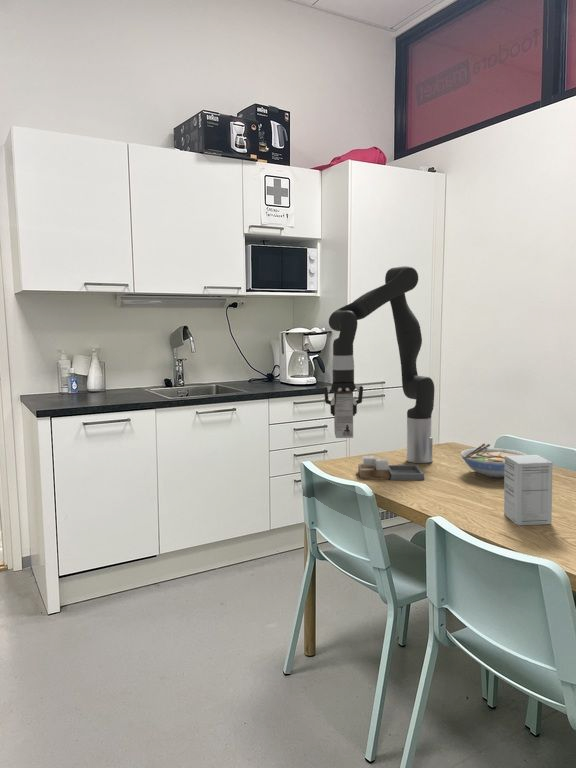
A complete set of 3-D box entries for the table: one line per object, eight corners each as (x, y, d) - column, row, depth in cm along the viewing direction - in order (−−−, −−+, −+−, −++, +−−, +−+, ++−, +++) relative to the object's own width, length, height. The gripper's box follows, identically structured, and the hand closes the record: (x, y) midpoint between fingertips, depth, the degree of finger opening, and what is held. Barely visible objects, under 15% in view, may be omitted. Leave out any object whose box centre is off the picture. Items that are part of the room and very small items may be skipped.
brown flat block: (386, 471, 207) (386, 463, 207) (389, 478, 198) (389, 470, 198) (358, 472, 207) (358, 464, 207) (360, 478, 198) (360, 470, 198)
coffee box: (334, 433, 206) (333, 389, 205) (351, 433, 206) (351, 389, 205) (335, 438, 197) (334, 392, 196) (354, 438, 197) (353, 391, 196)
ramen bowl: (517, 488, 183) (518, 463, 183) (449, 478, 197) (449, 455, 196) (537, 472, 203) (538, 449, 202) (474, 463, 217) (474, 442, 216)
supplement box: (536, 513, 159) (537, 454, 158) (552, 524, 150) (554, 462, 148) (502, 514, 159) (503, 455, 157) (516, 525, 150) (518, 463, 148)
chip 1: (373, 464, 207) (373, 455, 206) (374, 466, 203) (374, 458, 202) (362, 464, 207) (362, 456, 206) (363, 466, 203) (363, 458, 202)
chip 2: (386, 466, 202) (386, 458, 202) (388, 469, 198) (388, 461, 198) (375, 467, 202) (375, 458, 202) (376, 469, 198) (376, 461, 198)
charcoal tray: (416, 470, 209) (416, 464, 208) (424, 479, 196) (424, 474, 195) (386, 470, 209) (386, 465, 209) (391, 480, 196) (391, 474, 196)
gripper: (362, 367, 203) (363, 413, 204) (322, 367, 203) (322, 414, 205) (364, 368, 195) (365, 417, 197) (322, 369, 196) (323, 417, 198)
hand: (343, 415), depth 201 cm, fingers closed on coffee box, 6 cm apart
